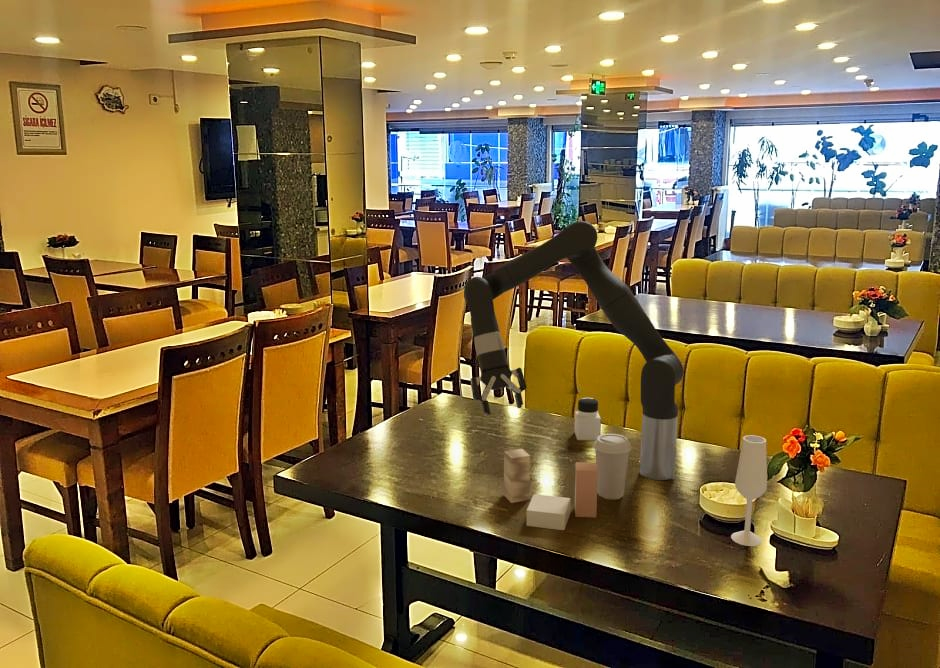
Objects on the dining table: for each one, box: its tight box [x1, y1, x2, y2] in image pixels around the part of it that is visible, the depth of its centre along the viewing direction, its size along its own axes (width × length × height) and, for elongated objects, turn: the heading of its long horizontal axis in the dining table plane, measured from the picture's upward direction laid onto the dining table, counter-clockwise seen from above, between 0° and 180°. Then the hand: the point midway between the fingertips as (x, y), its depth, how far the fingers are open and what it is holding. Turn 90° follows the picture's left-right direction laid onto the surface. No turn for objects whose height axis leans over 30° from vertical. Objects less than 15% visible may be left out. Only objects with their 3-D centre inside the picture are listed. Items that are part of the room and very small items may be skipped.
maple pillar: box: [503, 448, 531, 504], centre depth 194 cm, size 5×5×12 cm
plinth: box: [526, 493, 571, 531], centre depth 183 cm, size 9×9×4 cm
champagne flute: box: [730, 434, 768, 547], centre depth 171 cm, size 7×7×24 cm
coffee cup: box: [592, 433, 632, 500], centre depth 195 cm, size 10×10×15 cm
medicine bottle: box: [573, 397, 602, 441], centre depth 236 cm, size 7×7×12 cm
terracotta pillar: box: [574, 461, 598, 518], centre depth 186 cm, size 5×5×12 cm
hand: (504, 411), depth 201 cm, fingers open, 8 cm apart
